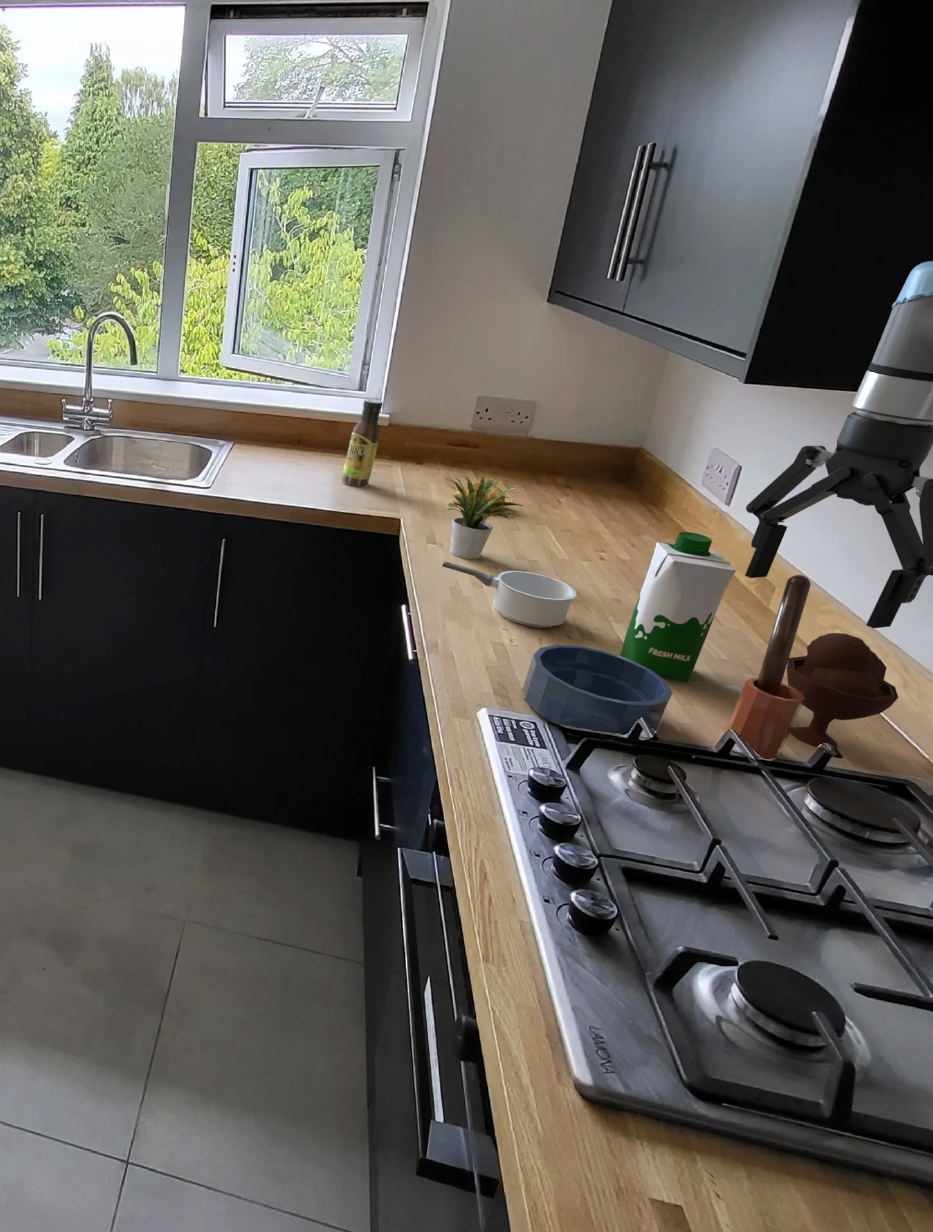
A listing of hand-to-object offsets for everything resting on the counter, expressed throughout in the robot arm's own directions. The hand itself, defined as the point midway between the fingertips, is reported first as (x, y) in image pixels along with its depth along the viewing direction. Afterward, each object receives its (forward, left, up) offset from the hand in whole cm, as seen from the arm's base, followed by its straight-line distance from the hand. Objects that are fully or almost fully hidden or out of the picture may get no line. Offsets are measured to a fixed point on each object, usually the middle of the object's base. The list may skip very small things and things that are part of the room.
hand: (813, 600), depth 102 cm
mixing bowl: (+8, +16, -21) cm, 27 cm away
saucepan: (+40, +11, -21) cm, 47 cm away
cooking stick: (0, 0, -20) cm, 20 cm away
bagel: (+98, -13, -21) cm, 101 cm away
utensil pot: (0, 0, -21) cm, 21 cm away
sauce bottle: (+110, +11, -21) cm, 112 cm away
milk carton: (+21, -2, -21) cm, 30 cm away
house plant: (+65, +6, -21) cm, 68 cm away
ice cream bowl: (+3, -11, -21) cm, 24 cm away
